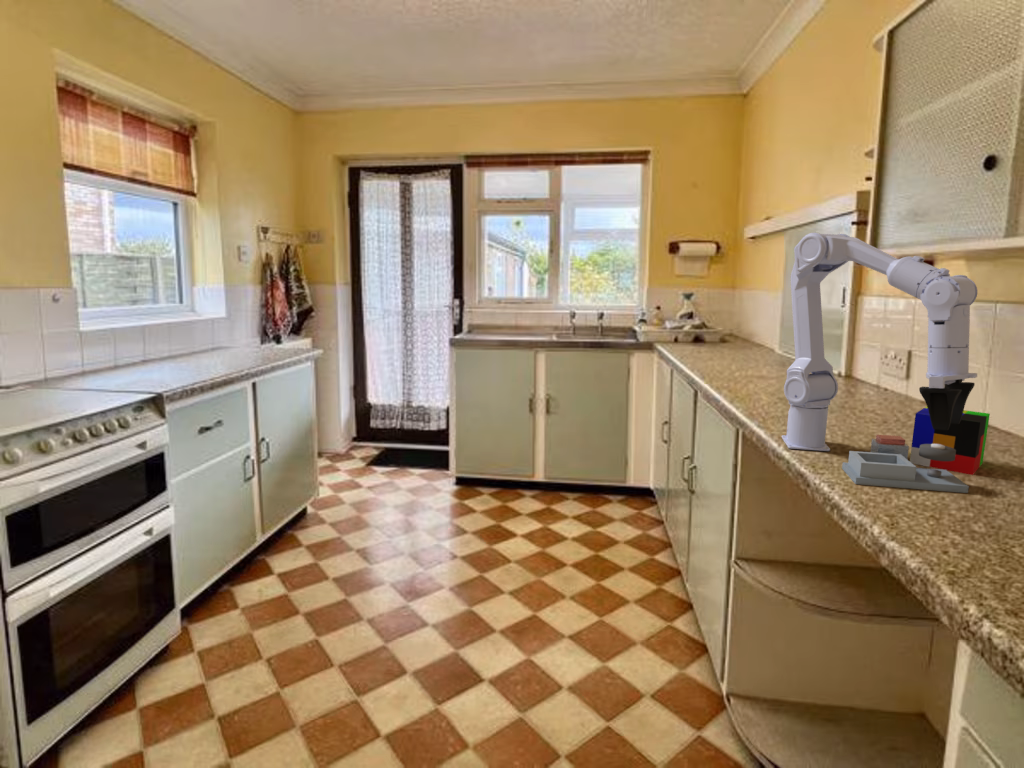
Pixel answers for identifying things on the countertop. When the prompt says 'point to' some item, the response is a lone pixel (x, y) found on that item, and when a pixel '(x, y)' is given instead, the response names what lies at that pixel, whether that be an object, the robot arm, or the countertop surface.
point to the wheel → (937, 452)
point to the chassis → (898, 473)
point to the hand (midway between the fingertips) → (946, 426)
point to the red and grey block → (889, 445)
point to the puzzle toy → (952, 441)
